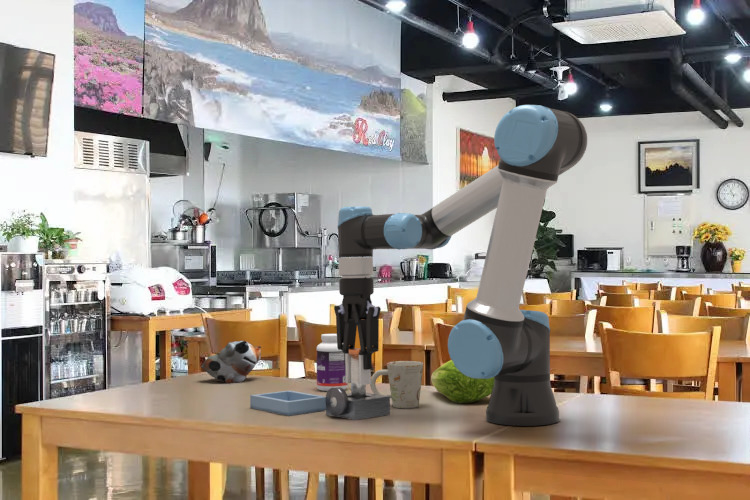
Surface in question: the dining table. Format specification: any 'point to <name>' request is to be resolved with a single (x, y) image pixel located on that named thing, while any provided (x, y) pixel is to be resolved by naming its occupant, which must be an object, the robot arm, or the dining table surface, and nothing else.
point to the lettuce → (460, 384)
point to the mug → (402, 382)
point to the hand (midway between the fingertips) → (358, 383)
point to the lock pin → (356, 375)
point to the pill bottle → (330, 364)
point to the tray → (288, 402)
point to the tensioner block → (356, 405)
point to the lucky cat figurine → (233, 362)
